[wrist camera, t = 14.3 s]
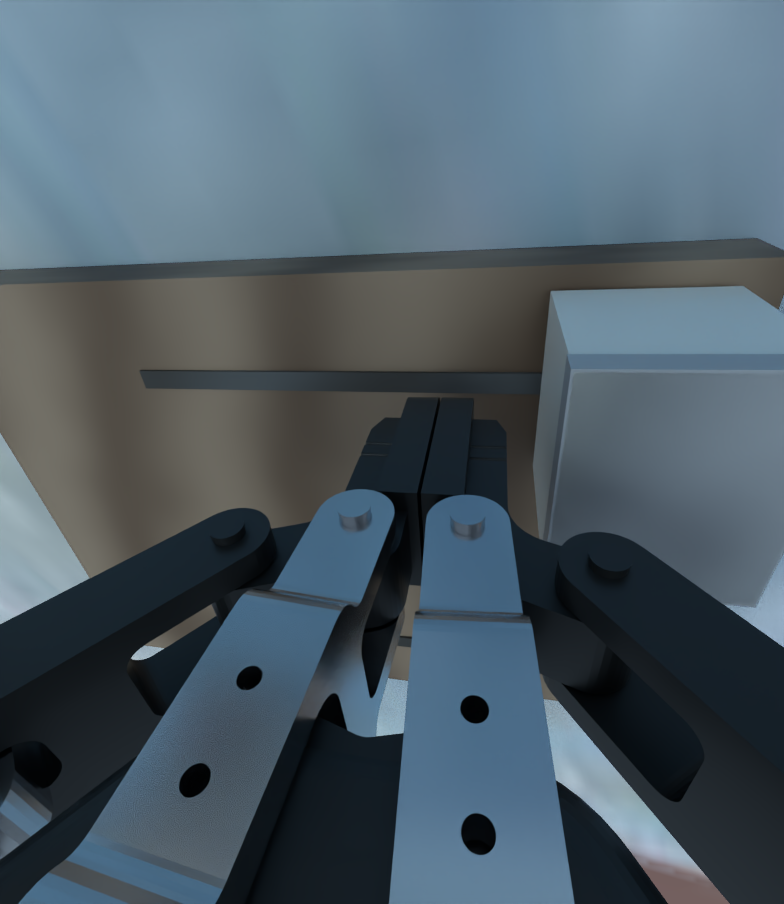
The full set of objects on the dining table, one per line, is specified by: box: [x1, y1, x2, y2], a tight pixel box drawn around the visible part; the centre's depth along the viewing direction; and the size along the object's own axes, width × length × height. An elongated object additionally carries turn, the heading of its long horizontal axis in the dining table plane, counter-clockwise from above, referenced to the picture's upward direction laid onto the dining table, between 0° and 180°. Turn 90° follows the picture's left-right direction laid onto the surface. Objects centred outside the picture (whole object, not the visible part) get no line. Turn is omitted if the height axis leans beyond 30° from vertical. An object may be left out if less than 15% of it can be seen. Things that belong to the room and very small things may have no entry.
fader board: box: [0, 238, 784, 701], centre depth 18 cm, size 24×18×2 cm
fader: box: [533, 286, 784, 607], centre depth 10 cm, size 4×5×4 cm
